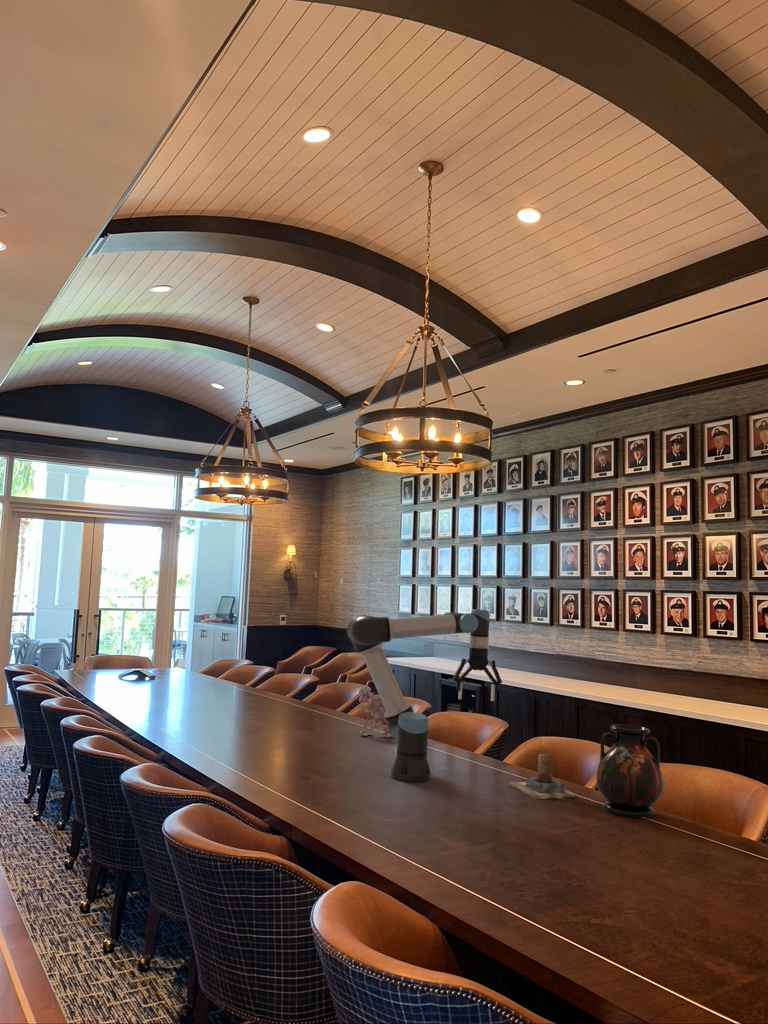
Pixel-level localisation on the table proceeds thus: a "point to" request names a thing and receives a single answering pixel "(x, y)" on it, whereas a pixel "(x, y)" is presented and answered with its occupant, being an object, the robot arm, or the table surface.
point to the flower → (377, 708)
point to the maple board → (542, 789)
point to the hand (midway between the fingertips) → (476, 700)
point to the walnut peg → (545, 768)
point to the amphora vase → (629, 773)
